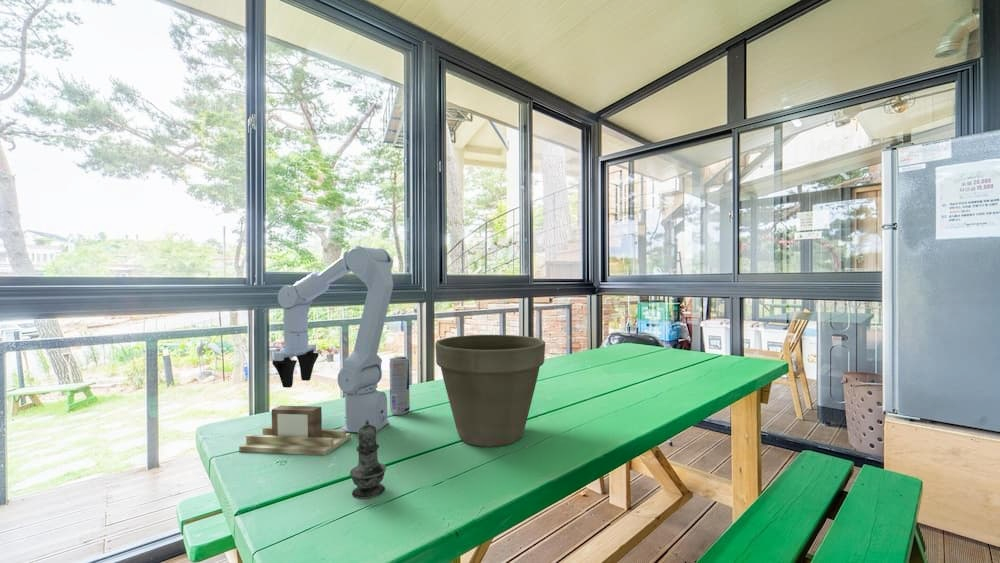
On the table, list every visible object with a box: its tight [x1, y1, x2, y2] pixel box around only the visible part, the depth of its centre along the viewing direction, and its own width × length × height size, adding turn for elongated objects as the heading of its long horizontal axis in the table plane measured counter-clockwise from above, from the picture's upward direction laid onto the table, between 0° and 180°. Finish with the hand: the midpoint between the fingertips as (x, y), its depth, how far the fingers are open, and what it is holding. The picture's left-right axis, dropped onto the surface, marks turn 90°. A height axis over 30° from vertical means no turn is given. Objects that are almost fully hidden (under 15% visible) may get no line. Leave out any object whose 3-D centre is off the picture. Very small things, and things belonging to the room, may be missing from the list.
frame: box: [271, 405, 323, 438], centre depth 93 cm, size 10×3×7 cm, turn 81°
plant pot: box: [435, 334, 546, 448], centre depth 96 cm, size 25×25×22 cm
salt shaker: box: [349, 420, 387, 500], centre depth 71 cm, size 6×6×12 cm
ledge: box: [238, 426, 351, 456], centre depth 93 cm, size 20×10×2 cm, turn 80°
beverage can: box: [389, 356, 411, 416], centre depth 115 cm, size 5×5×15 cm
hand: (297, 383), depth 111 cm, fingers open, 7 cm apart
